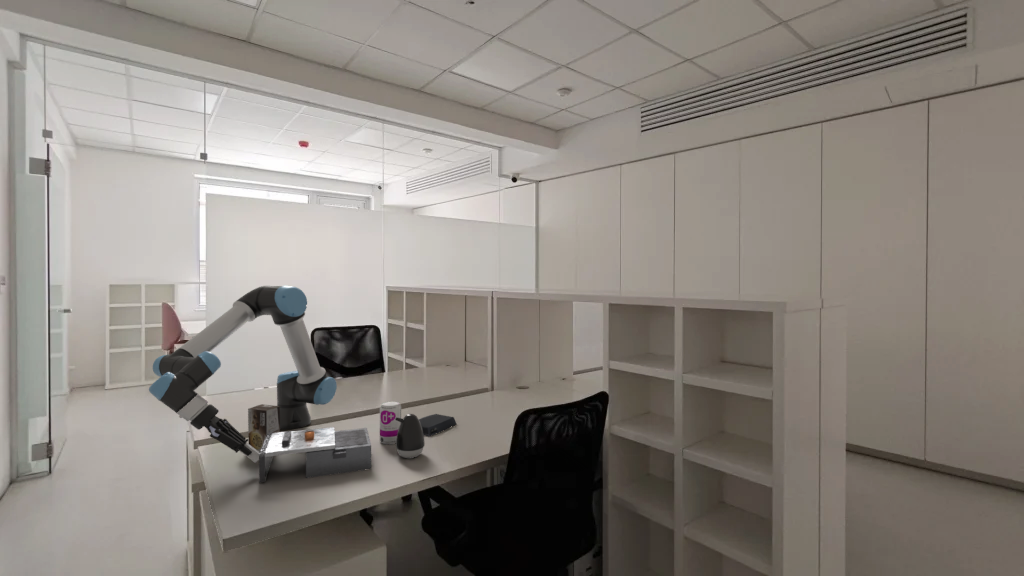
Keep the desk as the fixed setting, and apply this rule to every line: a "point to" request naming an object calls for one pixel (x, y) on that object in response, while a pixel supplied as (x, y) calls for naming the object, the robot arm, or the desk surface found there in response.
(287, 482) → the desk surface
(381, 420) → the supplement can
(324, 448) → the lid
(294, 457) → the desk surface
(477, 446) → the desk surface
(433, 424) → the external hard drive
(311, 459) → the grey storage box
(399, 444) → the pump dispenser
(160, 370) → the robot arm
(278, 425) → the coffee box
